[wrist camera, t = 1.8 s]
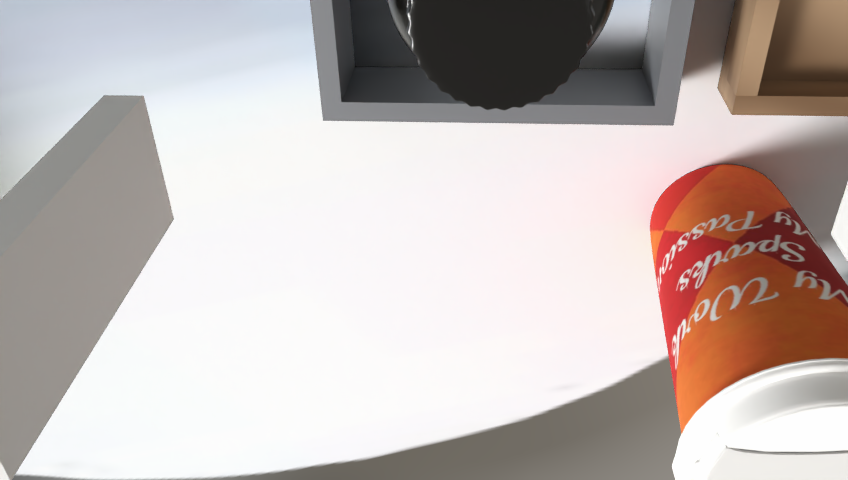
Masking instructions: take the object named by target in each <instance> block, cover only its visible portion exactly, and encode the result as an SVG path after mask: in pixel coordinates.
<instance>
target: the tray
mask: <svg viewBox="0 0 848 480" xmlns="http://www.w3.org/2000/svg"><path fill="white" fill-rule="evenodd" d="M718 90H719V92H720V94H721V96H722V97H723V99H724V101H725V103H726V105H727V107H728V109H729V111H730V112H731V114H732V115H799V116H848V0H735V4H734V9H733V14H732V19H731V24H730V29H729V34H728V38H727V43H726V48H725V53H724V58H723V63H722V68H721V73H720V78H719V83H718Z"/></svg>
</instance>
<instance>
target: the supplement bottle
mask: <svg viewBox="0 0 848 480" xmlns="http://www.w3.org/2000/svg"><path fill="white" fill-rule="evenodd" d="M387 1H388V6H389V9H390V13H391V16H392V18H393V21H394V24H395V26H396V28H397V30H398V32H399V34H400V36H401V37H402V39H403V40H404V42H405V44H406V45H407V46H408V48H409V49H410V50H411V52H412V53H413V54H414V55H415V56H416V57H417V64H418V66H419V67H420V68H421V69H423V70H424V71H425V72H426V76H427V78H428V79H429V80H430V81H432V82H434V83H436V84H437V86H438V88H439V89H440V91H442V92H444V93H448V94H450V95H451V97H452V98H453V99H454V100H456V101H463V102H465V103H466V104H467V105H469V106H470V107H478V106H480V107H482V108H483V109H486V110H491V109H495V108H497V109H500V110H507V109H510V108H512V107H517V108H522V107H524V106H525V105H527V104H528V103H535V102H539V101H540V100H541V99H542V98H543V97H544V96H546V95H550V94H553V93H554V92H555V91H556V89H557V88H558V86H560V85H562V84H564V83H566V82H567V81H568V79H569V76H570V74H571V73H572V72H574V71H575V70H576V69H578V67H579V64H580V59H581V58H582V57H583V56H584V55H585V54H586V53H587V51H588V50H589V49H590V47H591V46H592V45H593V43H594V42H595V41H596V39H597V38H598V36H599V35H600V33H601V31H602V30H603V28H604V26H605V24H606V22H607V20H608V17H609V15H610V12H611V9H612V7H613V3H614V0H387Z"/></svg>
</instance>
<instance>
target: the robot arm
mask: <svg viewBox="0 0 848 480" xmlns="http://www.w3.org/2000/svg"><path fill="white" fill-rule="evenodd" d="M173 220H174V218H173V214H172V210H171V206H170V201H169V197H168V193H167V189H166V185H165V181H164V177H163V173H162V169H161V165H160V161H159V157H158V153H157V149H156V144H155V140H154V136H153V132H152V128H151V124H150V120H149V116H148V112H147V108H146V104H145V100H144V96H109V95H104V96H103V97H102V98H101V99H100V100H99V101H98V102H97V103H96V104H95V105H94V106H93V107H92V108H91V109H90V110H89V111H88V112H87V113H86V114H85V115H84V116H83V117H82V118H81V119H80V120H79V121H78V122H77V123H76V124H75V125H74V126H73V127H72V128H71V129H70V130H69V131H68V133H67V134H66V135H65V136H64V137H63V138H62V139H61V140H60V141H59V142H58V143H57V144H56V145H55V146H54V147H53V148H52V149H51V150H50V151H49V152H48V153H47V154H46V155H45V156H44V157H43V158H42V159H41V160H40V161H39V162H38V163H37V164H36V165H35V166H34V167H33V168H32V169H31V170H30V171H29V172H28V173H27V174H26V175H25V176H24V177H23V178H22V179H21V180H20V181H19V182H18V183H17V184H16V185H15V186H14V187H13V188H12V189H11V190H10V191H9V192H8V193H7V194H6V195H5V196H4V197H3V198H2V199H1V200H0V480H12V478H13V477H14V475H15V473H16V472H17V470H18V469H19V467H20V465H21V464H22V462H23V461H24V459H25V457H26V456H27V454H28V453H29V451H30V449H31V448H32V446H33V445H34V443H35V441H36V440H37V438H38V437H39V435H40V433H41V432H42V430H43V428H44V427H45V425H46V424H47V422H48V420H49V419H50V417H51V416H52V414H53V412H54V411H55V409H56V408H57V406H58V404H59V403H60V401H61V400H62V398H63V396H64V395H65V393H66V392H67V390H68V388H69V387H70V385H71V384H72V382H73V380H74V379H75V377H76V375H77V374H78V372H79V371H80V369H81V367H82V366H83V364H84V363H85V361H86V359H87V358H88V356H89V355H90V353H91V351H92V350H93V348H94V347H95V345H96V343H97V342H98V340H99V339H100V337H101V335H102V334H103V332H104V331H105V329H106V327H107V326H108V324H109V322H110V321H111V319H112V318H113V316H114V314H115V313H116V311H117V310H118V308H119V306H120V305H121V303H122V302H123V300H124V298H125V297H126V295H127V294H128V292H129V290H130V289H131V287H132V286H133V284H134V282H135V281H136V279H137V278H138V276H139V274H140V273H141V271H142V269H143V268H144V266H145V265H146V263H147V261H148V260H149V258H150V257H151V255H152V253H153V252H154V250H155V249H156V247H157V245H158V244H159V242H160V241H161V239H162V237H163V236H164V234H165V233H166V231H167V229H168V228H169V226H170V224H171V223H172V221H173ZM831 235H832V237H833V239H834V240H835V242H836V243H837V245H838V247H839V248H840V250H841V252H842V253H843V255H844V256H845V258H846V260H847V261H848V182H847V186H846V189H845V192H844V195H843V198H842V201H841V204H840V207H839V210H838V213H837V216H836V219H835V223H834V226H833V229H832V232H831Z"/></svg>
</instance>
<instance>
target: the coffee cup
mask: <svg viewBox="0 0 848 480" xmlns="http://www.w3.org/2000/svg"><path fill="white" fill-rule="evenodd" d="M650 234H651V245H652V252H653V260H654V266H655V273H656V279H657V286H658V292H659V298H660V305H661V311H662V317H663V323H664V330H665V336H666V342H667V348H668V354H669V360H670V365H671V372H672V378H673V384H674V389H675V395H676V402H677V408H678V414H679V421H680V426H681V433H682V435H681V437H680V439H679V444H678V447H677V451H676V455H675V458H674V461H673V464H672V468H673V472H674V476H675V479H676V480H848V286H847V284H846V283H845V281H844V280H843V279H842V277H841V276H840V275H839V273H838V272H837V270H836V269H835V267H834V266H833V264H832V263H831V262H830V260H829V259H828V257H827V256H826V254H825V253H824V252H823V250H822V249H821V247H820V246H819V244H818V243H817V242H816V240H815V239H814V237H813V236H812V234H811V233H810V232H809V230H808V229H807V227H806V226H805V224H804V223H803V222H802V220H801V219H800V217H799V216H798V215H797V213H796V212H795V210H794V209H793V208H792V206H791V205H790V204H789V202H788V201H787V200H786V198H785V197H784V196H783V194H782V193H781V192H780V191H779V189H778V188H777V187H776V186H775V185H774V183H773V182H772V181H770V180H769V179H768V178H767V177H766V176H764V175H763V174H761V173H760V172H758V171H756V170H754V169H751V168H748V167H745V166H740V165H732V164H721V165H712V166H707V167H703V168H700V169H697V170H695V171H692V172H690V173H688V174H686V175H684V176H682V177H681V178H679V179H678V180H676V181H675V182H674V183H672V184H671V185H670V186H669V187H668V188H667V189H666V190H665V191H664V192H663V193H662V195H661V196H660V197H659V199H658V201H657V202H656V204H655V206H654V209H653V212H652V216H651V222H650Z"/></svg>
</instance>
